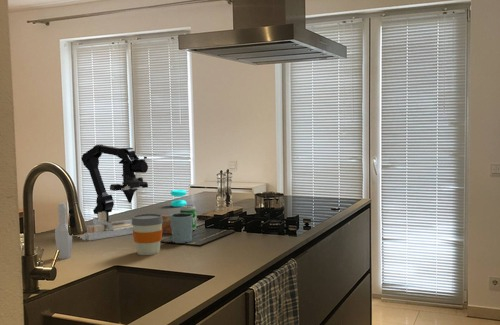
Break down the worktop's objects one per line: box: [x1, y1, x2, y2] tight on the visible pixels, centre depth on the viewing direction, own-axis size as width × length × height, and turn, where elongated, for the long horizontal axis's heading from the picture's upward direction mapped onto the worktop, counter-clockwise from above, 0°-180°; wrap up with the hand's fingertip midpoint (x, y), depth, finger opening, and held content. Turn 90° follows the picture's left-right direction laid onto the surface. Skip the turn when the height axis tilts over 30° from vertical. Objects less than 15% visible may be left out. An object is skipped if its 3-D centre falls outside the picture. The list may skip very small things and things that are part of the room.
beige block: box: [93, 224, 104, 232], centre depth 255 cm, size 4×4×3 cm
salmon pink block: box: [87, 225, 94, 233], centre depth 260 cm, size 4×4×3 cm
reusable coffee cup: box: [131, 213, 163, 256], centre depth 219 cm, size 13×13×15 cm
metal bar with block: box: [92, 212, 113, 230], centre depth 259 cm, size 20×3×7 cm, turn 38°
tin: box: [162, 215, 172, 235], centre depth 259 cm, size 15×3×8 cm, turn 62°
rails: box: [86, 218, 133, 242], centre depth 262 cm, size 21×31×3 cm
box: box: [77, 228, 88, 241], centre depth 256 cm, size 15×12×4 cm
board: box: [104, 223, 133, 231], centre depth 265 cm, size 13×15×2 cm
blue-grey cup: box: [169, 212, 193, 244], centre depth 239 cm, size 10×10×12 cm
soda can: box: [179, 204, 197, 232], centre depth 263 cm, size 8×8×12 cm
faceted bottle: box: [54, 202, 73, 260], centre depth 214 cm, size 6×6×22 cm
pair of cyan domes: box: [170, 189, 188, 208], centre depth 340 cm, size 10×10×10 cm
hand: (129, 202), depth 275 cm, fingers closed
